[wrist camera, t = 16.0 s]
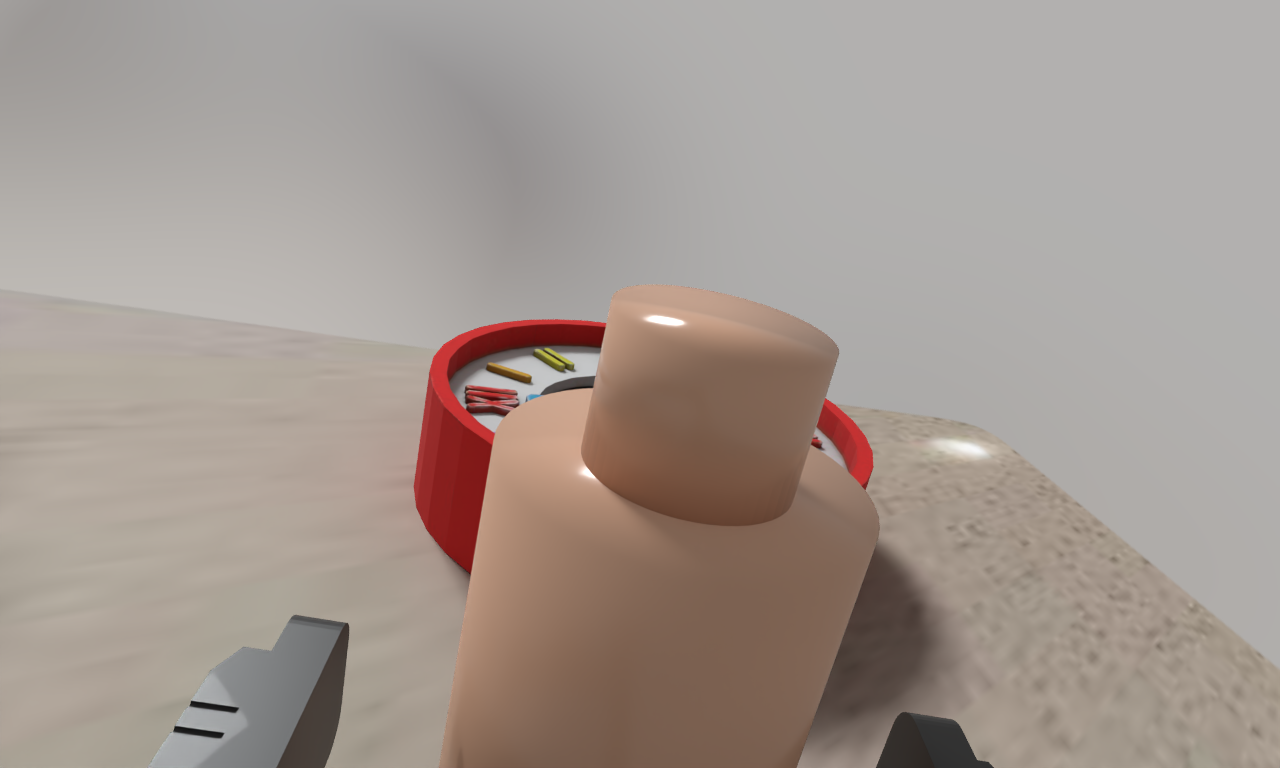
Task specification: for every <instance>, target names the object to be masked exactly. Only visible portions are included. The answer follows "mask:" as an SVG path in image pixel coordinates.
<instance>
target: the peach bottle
mask: <svg viewBox="0 0 1280 768" xmlns="http://www.w3.org/2000/svg"><path fill="white" fill-rule="evenodd" d="M838 356H839V349H838V347H837V345H836V344H835V342H834V341H833V340H832V339H831V338H830V337H828V336H827V335H826V334H825V333H823V332H822V331H820V330H819V329H817V328H816V327H814V326H812V325H810V324H809V323H807V322H805V321H803V320H800V319H798V318H796V317H794V316H792V315H790V314H787V313H785V312H782V311H779V310H777V309H774V308H771V307H769V306H766V305H763V304H759V303H756V302H753V301H750V300H746V299H743V298H739V297H735V296H731V295H727V294H722V293H718V292H713V291H708V290H703V289H697V288H690V287H682V286H672V285H636V286H630V287H626V288H623V289H620V290H619V291H617V292H616V293H614V295H613V297H612V300H611V304H610V309H609V314H608V319H607V324H606V328H605V333H604V338H603V343H602V348H601V353H600V357H599V362H598V367H597V372H596V377H595V382H594V386H593V388H587V389H575V390H567V391H561V392H556V393H551V394H547V395H544V396H540V397H537V398H534V399H532V400H530V401H527V402H525V403H523V404H521V405H519V406H518V407H516V408H515V409H513V410H512V411H510V412H509V413H508V414H507V415H506V416H505V417H504V418H503V419H502V420H501V422H500V424H499V426H498V427H497V429H496V432H495V436H494V440H493V446H492V452H491V458H490V464H489V470H488V476H487V482H486V488H485V494H484V500H483V506H482V512H481V518H480V524H479V530H478V536H477V542H476V548H475V554H474V560H473V566H472V572H471V578H470V584H469V590H468V596H467V602H466V608H465V614H464V620H463V626H462V632H461V638H460V644H459V650H458V656H457V661H456V667H455V673H454V679H453V685H452V691H451V697H450V703H449V709H448V715H447V721H446V727H445V733H444V739H443V745H442V751H441V757H440V763H439V768H797V765H798V762H799V759H800V756H801V754H802V751H803V748H804V745H805V742H806V740H807V737H808V734H809V731H810V728H811V726H812V723H813V720H814V717H815V714H816V712H817V709H818V706H819V703H820V700H821V698H822V695H823V692H824V689H825V686H826V684H827V681H828V678H829V675H830V672H831V670H832V667H833V664H834V661H835V658H836V656H837V653H838V650H839V647H840V644H841V641H842V639H843V636H844V633H845V630H846V627H847V625H848V622H849V619H850V616H851V613H852V611H853V608H854V605H855V602H856V599H857V597H858V594H859V591H860V588H861V585H862V583H863V580H864V577H865V574H866V571H867V569H868V566H869V563H870V560H871V557H872V555H873V552H874V549H875V546H876V543H877V541H878V536H879V530H880V525H879V517H878V514H877V511H876V508H875V506H874V503H873V502H872V500H871V498H870V497H869V495H868V494H867V492H866V491H865V490H864V488H863V487H862V486H861V485H860V484H859V482H858V481H857V480H856V479H855V478H854V477H853V476H852V475H851V474H850V473H849V472H848V471H847V470H846V469H844V468H843V467H842V466H841V465H839V464H838V463H837V462H836V461H834V460H833V459H832V458H831V457H829V456H828V455H826V454H825V453H823V452H822V451H820V450H819V449H817V448H816V447H814V446H812V445H811V442H812V439H813V436H814V433H815V430H816V426H817V423H818V420H819V417H820V414H821V410H822V407H823V404H824V401H825V397H826V394H827V391H828V388H829V385H830V381H831V378H832V375H833V372H834V368H835V365H836V362H837V358H838Z"/></svg>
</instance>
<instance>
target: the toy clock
mask: <svg viewBox="0 0 1280 768" xmlns="http://www.w3.org/2000/svg"><path fill="white" fill-rule="evenodd" d="M606 324H607V323H601V322H592V321H581V320H558V319H555V320H523V321H513V322H504V323H499V324H494V325H489V326H484V327H479V328H477V329H474V330H471V331H468V332H466V333H463V334H461V335H459V336H457V337H455V338H454V339H452V340H450V341H449V342H447V343H445V344H444V345H443V346H442V348H441V349H440V350H439V351H438V352H437V353H436V355H435V356H434V358H433V361H432V365H431V368H430V372H429V380H428V387H427V394H426V401H425V409H424V416H423V423H422V431H421V438H420V445H419V452H418V460H417V467H416V474H415V482H414V492H415V501H416V508H417V510H418V512H419V514H420V516H421V519H422V521H423V523H424V525H425V527H426V529H427V531H428V532H429V533H430V534H431V536H432V537H433V538H434V539H435V541H436V542H437V543H438V544H439V546H440V547H441V548H442V549H443V551H444V552H445V553H446V554H448V555H449V556H450V557H451V558H452V559H453V560H455V561H456V562H457V563H458V564H459V565H460V566H462V567H463V568H464V569H465V570H466V571H467V572H469V573H470V574H471V572H472V566H473V560H474V554H475V548H476V542H477V536H478V530H479V524H480V518H481V512H482V506H483V500H484V494H485V488H486V482H487V476H488V470H489V464H490V458H491V452H492V446H493V440H494V436H495V432H496V429H497V427H498V426H499V424H500V422H501V420H502V419H503V418H504V417H505V416H506V415H507V414H508V413H509V412H510V411H512V410H513V409H515V408H516V407H518V406H519V405H521V404H523V403H525V402H527V401H530V400H532V399H534V398H537V397H540V396H544V395H547V394H551V393H556V392H561V391H567V390H575V389H587V388H593V386H594V382H595V377H596V372H597V367H598V362H599V357H600V353H601V348H602V343H603V338H604V333H605V328H606ZM811 445H812V446H814V447H816V448H817V449H819V450H820V451H822V452H823V453H825V454H826V455H828V456H829V457H831V458H832V459H833V460H834V461H836V462H837V463H838V464H839V465H841V466H842V467H843V468H844V469H846V470H847V471H848V472H849V473H850V474H851V475H852V476H853V477H854V478H855V479H856V480H857V481H858V482H859V484H860V485H861V486H862V487H863V488H864V490H866V487H867V484H868V481H869V478H870V475H871V472H872V469H873V453H872V450H871V448H870V445H869V443H868V441H867V439H866V437H865V435H864V434H863V433H862V431H861V430H860V429H859V428H858V426H857V425H856V424H855V423H854V421H853V420H852V419H851V418H849V417H848V416H847V415H846V414H845V413H844V412H843V411H841V410H840V409H839V408H838V407H837V406H836V405H835V404H833V403H831V402H830V401H829V400H827V399H826V398H825V401H824V404H823V407H822V410H821V414H820V417H819V420H818V423H817V426H816V430H815V433H814V436H813V439H812V442H811Z"/></svg>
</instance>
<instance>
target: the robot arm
mask: <svg viewBox="0 0 1280 768" xmlns="http://www.w3.org/2000/svg"><path fill="white" fill-rule="evenodd" d="M348 640H349V625H348V623H343V622H337V621H331V620H324V619H318V618H311V617H305V616H299V615H294V616H292V617H291V619H290V620H289V622H288V623H287V625H286V627H285V629H284V630H283V632H282V634H281V636H280V637H279V639H278V641H277V642H276V644H275V646H274V648H273V649H272V651H268V650H261V649H255V648H248V647H243V648H241V649H240V650H238V651H237V652H236V653H234V654H233V655H232V656H230V657H229V658H227V659H226V660H225V661H223V662H222V663H220V664H219V665H218V666H216V667H215V668H213V669H212V670H211V671H210V672H209V674H208V676H207V677H206V679H205V680H204V682H203V683H202V685H201V686H200V688H199V689H198V691H197V692H196V694H195V695H194V697H193V699H192V700H191V704H190V706H189V707H187V708H186V709H185V711H184V712H183V714H182V715H181V717H180V718H179V720H178V722H177V723H176V725H175V728H174V731H173V733H172V732H170V734H169V735H168V737H167V738H166V740H165V741H164V743H163V745H162V746H161V748H160V749H159V751H158V752H157V754H156V755H155V757H154V758H153V760H152V761H151V763H150V765H149V766H148V768H324V767H325V765H326V763H327V760H328V757H329V755H330V752H331V749H332V746H333V743H334V739H335V735H336V731H337V727H338V723H339V718H340V712H341V704H342V695H343V686H344V677H345V668H346V658H347V649H348ZM876 768H994V767H993V766H992V765H991V764H990V763H989V762H985V761H978V760H977V759H976V757H975V755H974V753H973V751H972V749H971V747H970V745H969V743H968V741H967V739H966V737H965V735H964V733H963V731H962V729H961V727H960V726H959V724H958V723H957V722H956V721H954V720H952V719H946V718H940V717H933V716H927V715H920V714H914V713H908V712H903V713H901V714H900V715H899V716H898V717H897V718H896V720H895V722H894V724H893V726H892V729H891V731H890V734H889V736H888V739H887V741H886V744H885V747H884V749H883V752H882V754H881V757H880V759H879V762H878V764H877V767H876Z"/></svg>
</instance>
